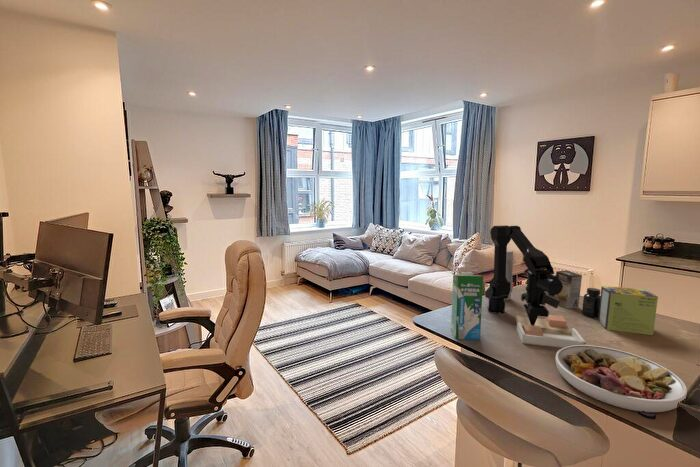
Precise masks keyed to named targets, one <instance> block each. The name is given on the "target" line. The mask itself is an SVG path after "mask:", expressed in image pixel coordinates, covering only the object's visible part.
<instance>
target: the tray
mask: <svg viewBox="0 0 700 467" xmlns="http://www.w3.org/2000/svg"><path fill="white" fill-rule="evenodd" d="M516 331H517V333H518V336H519V338H520V341H521V344H525V345H533V346H540V347H541V346H542V347H550V348H558V349H562V348H564V347H567V346H573V345H587V342H586V340H585V339H584V338H583V337H582V336H581V334H580V333H579V332H578V331H577V329H576V328H573V327H571V335H567V334H558V333H549V332H544V333H543V336H536V335H527V334H525V332H524V330H523V328H522V326H521V323H518V322H517V323H516Z"/></svg>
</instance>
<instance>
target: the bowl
mask: <svg viewBox="0 0 700 467" xmlns="http://www.w3.org/2000/svg"><path fill="white" fill-rule="evenodd" d="M555 364H556V368H557V370H558V372H559V373H560V375H561V376H562V377H563V378H564V379H565V381H566V382H568V384H570V385H571V386H572V387H573V388H575V389H577V390H578V391H580V392H582V393H583V394H585V395H587V396H588V397H591V398H593V399H595V400H597V401H600V402H603V403H605V404H608V405H610V406H614V407H618V408H621V409H626V410H630V411H634V412H635V411H636V412H642V411H645V412H644V413H662V412H668V411H671V410H674V409H676V408H677V409H678V407H677V404H678V402H680V401H682V400H684V399H685V400H686V398H687V394H688V388H687V386H686V384H685V382H684V381H683V380H682V378H680V377H679V376H678V375H676V373H674V372H672V371H671V370H669V369H667V368H666V367H664V366H662V365H660V364H659V363H657V362H654V361H653V360H649V359H648V358H645V357H642V356H639V355H637V354H634V353H631V352H628V351H624V350H620V349H616V348H611V347H605V346H600V345H599V346H598V345H589V344H586V345H573V346H567V347H564V348H559V349H558V350H557V352H556V353H555ZM685 400H684V401H685Z"/></svg>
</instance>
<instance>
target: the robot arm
mask: <svg viewBox="0 0 700 467" xmlns="http://www.w3.org/2000/svg"><path fill="white" fill-rule="evenodd" d="M489 232H490V239H491V241H492V243H493V244H494V253H493V254H494V258H493V259H494V261H493V262H494V263H493V277H492V278H491V280H490V281H489V287H488V288H487V289H486V290H485V291H484V297H486V299H488V301H487V311H488V313H493V314H494V313H495V314H505V313H504V312H505V311H506V301H504V299H508V296H509V293H510V291H511V290H510V285H511V283H510V282H508V280H507V279H506V254H507V250H508V247H507V246H508V244H509V243H510V242H511V241H512V242H513V244H515V245H516V247H517V248H518V250H519V251H520V252H521V254H522V258H523V259H522V261H523V263H524V264H525V267H526V269H525V270H523V271H524V273H526V274H527V282H526V286H525V291H526V292H523V293H522V294H520V300H521V302H524V301H525V304H524V303H523V307H524V309H525V312H526V315H527V317H528V318H529V321H530V324H531V325H533V326H534V325H535V322H536V320H537V318H538V317H545V318H546V317H548V315H550V312H549V310H548V308H547V307H546V306H545V305H548V306H551V307H553V308H554V309H558V307H559V306H560V305H559V303H560V302H561V301H560V300H559V299H558V298H557V297H556V296H554V295H557V294H559V293H560V292H561V291H562V289H563V285H562V282H561V281H560V280H558V276H556V274H555V270H554V268H553V266H552V263H551V261H550V259H549V257H548V255H546V253H544V252H543V251H542V250H540V249H538V248H536V247H535V246H534V245H533V244H532V242H531V241H530V240H529V239H528V237H527V236H526V235H525V233H524V232H523V231H522V228H521V226H519V225H493V226H492V227H491V228H490V231H489ZM538 319H539V318H538Z"/></svg>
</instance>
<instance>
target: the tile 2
mask: <svg viewBox="0 0 700 467" xmlns="http://www.w3.org/2000/svg"><path fill="white" fill-rule="evenodd" d="M544 319H545V320H546V322H547V323H548V325H549V326H556V327H565V328H566V325H568V324H567V322H568V321H567V320H566V318H564V316H563V315H555V314H549V315H548V317H545V318H544Z"/></svg>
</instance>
